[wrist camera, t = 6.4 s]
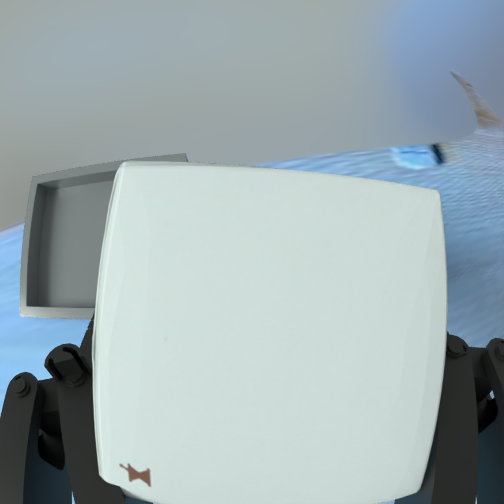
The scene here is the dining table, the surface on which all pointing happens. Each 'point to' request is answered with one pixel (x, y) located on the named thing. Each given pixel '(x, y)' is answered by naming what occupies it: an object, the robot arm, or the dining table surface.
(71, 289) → the tray
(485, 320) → the dining table surface
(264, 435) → the supplement box
